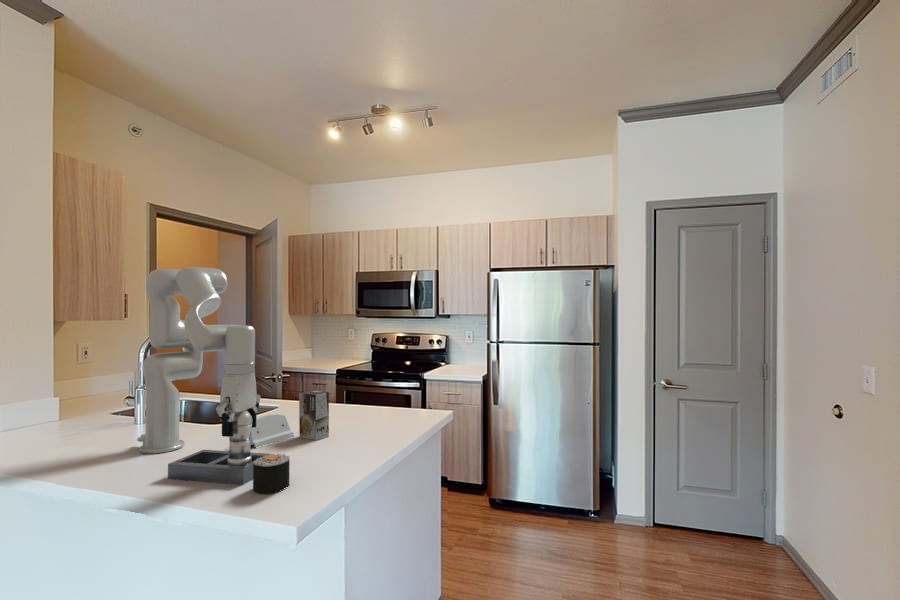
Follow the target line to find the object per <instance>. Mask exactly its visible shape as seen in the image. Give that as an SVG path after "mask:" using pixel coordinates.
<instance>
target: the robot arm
mask: <svg viewBox="0 0 900 600" xmlns="http://www.w3.org/2000/svg"><path fill="white" fill-rule="evenodd" d="M145 280H146V281H145V291H146V295H147V298H148V302H149V306H150V307H149V308H150V311H149V342H150V345H151V346H152V347H153V348H154V349H163V350H164V349H181V348H183V351H172V352H171V351H169V352H158V353H153V354H151V355H148V356H147V357H146V358H144V360H143V363H142V374H143V379H144V384H145V433H143V434H141V435H140V436H139V437H138V438H137V439H136V440H137V442H139V443H141V442H142V445H141V446H140V447H139V452H140V453H142V454H148V455H150V454H161V453H167V452H172V451H176V450H178V449H179V450H180V449H181V448H183V447H185V440H182V439H180V405H181V404H180V391H179V389H177V388H178V387H176V386H175V384H174V383H173V381H178V380H189V379H194V378H196V377H198V376H199V375H200V374H201V373H202V370H203V364H204V363H203V362H204V361H203V360H204V353H209V352H222V351H225V352H224V353H225V355H224V359H225V361H224V376H223V377H222V382H221V387H220V396H219V397H220V398H219V404H218V405H217V406H216V408H215V410H216V413H217V417H218V419H219V421H220V422H221V437H224V438H225V437H227V438H229V437H232V436H233V435H234V421H232V419H233V417H234V415H235V413H238V412H241V411H245V410H247V411H248V412H249V413H250V415H251V416H252V419H253V421H252V428H255V427H256V419H257V413H258V412H259V411H258V410H259V409H258V408H259V406H260V401H261V398H262V396H261V395H260V394H258V393H257V392H258V391H257V389H258V388H257V381H256V380H257V379H256V368H255V367H256V361H255V360H256V330H255V328H254V327H253V326H252V325H240V324H236V323H235V324H231V323H230V324H225V323H224V324H223V323H222V324H220V323H219V324H204V322H203V321H202V319H203V318H205V317H207V316H210V315H212V314H213V313H215V312H216V311H218V309H219V308H220V307H221V304H222V299H221V297H220V296H219V295H221V294H223V293H225V291H226V290H227V289H228V284H229V283H228V279H227V276H226V274H225V272H224V271H222V270H221V269H218V268H215V267H214V268H213V267H202V266H201V267H200V266H186V267H183V268H181V269H179V268H178V269H177V268H158V269H157V268H156V269H154V270H151V272H149V273H148V276H147V278H146V279H145ZM173 295H175V296H183V298H184V300H185V301H186V303H187V305H188V306H189V309H188V310H187V311H186V314H185V317H184V319H181V305H180V303H179V302H178V300H177V299H176V298H175V297H174V296H173Z"/></svg>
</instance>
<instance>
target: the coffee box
mask: <svg viewBox="0 0 900 600" xmlns="http://www.w3.org/2000/svg"><path fill="white" fill-rule="evenodd" d="M298 395H299V396H298V398H299V399H298V401H299V402H298V408H299V409H298V410H299V411H298V415H299V417H298V419H299V420H298V421H299V423H298V425H299V431H298V432H299V433H298V434H299V435H298V436H299V438H303V439H308V440H313V441H318V440H321V439H326V438H329V437H330V432H329V431H330V428H329V427H330V426H329V425H330V421H329V420H330V419H329V417H330V415H329V414H330V411H329V409H330V402H329V401H330V397H329V396H330V392H329V391H323V390H314V389H312V390H306V391H301V392H299V393H298Z"/></svg>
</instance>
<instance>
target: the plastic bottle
mask: <svg viewBox="0 0 900 600" xmlns="http://www.w3.org/2000/svg"><path fill="white" fill-rule="evenodd" d="M232 421H234V435H233V436H232V437H228V439H229V442H228V444H229V446H228V447H229V448H228V451H229V456H228V457H229V458H228V460H227V465H231V466H245V465H247V464H249V463H251V462H252V457H251V453H252V452H251V446H250V436H251V428H252V421H253V419H252V416H251V415H250V413H249V412H248V411H247V410H245V411H241V412H238V413H235V415H234V417H233V419H232Z"/></svg>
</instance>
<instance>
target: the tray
mask: <svg viewBox="0 0 900 600" xmlns="http://www.w3.org/2000/svg"><path fill="white" fill-rule="evenodd" d="M270 454H271V453H264V452H263V453H262V452H251V457H252V462H251V463H249V464H247V465H245V466H231V465H227V460H228V458H229V457H228V456H229V450H216V449H215V450H213V449H202V450H199V451H197V452H194V453H192V454H189V455H187V456H185V457H182V458H178V459H177V460H174V461H172V462H169V463H168V464H167V479H168V480H176V479H179V480H178V481H189V480H191V482H192V481H193V482H201V481H204V482H203V483H205V482H206V483H214V482H216V483H217V484H227V483H232V484H231V485H240V484H244V485H246V484H247V483H249V482H251V481H253V462H254V461H256V460H257V458H258V459H259V458H260V457H261V458H262V457H265V455H266V456H267V455H270ZM250 480H251V481H250ZM248 481H249V482H248ZM245 483H246V484H245Z"/></svg>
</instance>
